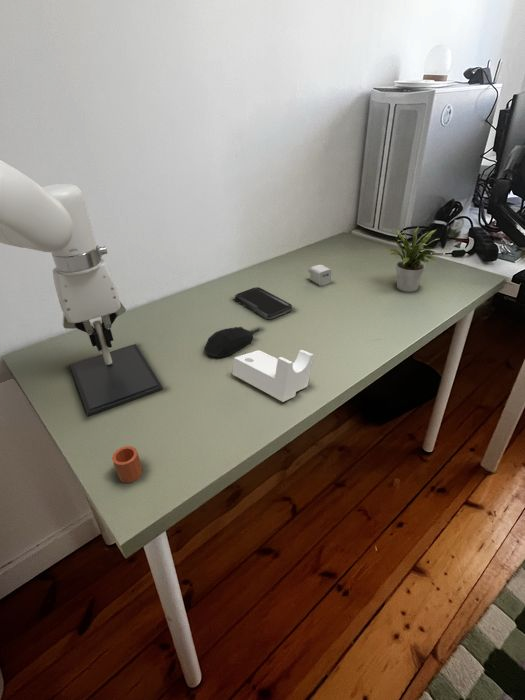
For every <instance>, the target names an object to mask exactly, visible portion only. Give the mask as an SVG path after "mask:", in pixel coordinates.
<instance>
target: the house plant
mask: <svg viewBox="0 0 525 700" xmlns="http://www.w3.org/2000/svg"><path fill="white" fill-rule="evenodd" d="M419 227H420V225H418V226H417V227H416V228H415V229H414V230H413V235H412V242H411V243H410V242H409V241H408V236H407V233H406V232H405V231H404V230H403V229H401V228H400V230H401V231H402V232H403V234H404V235H403V234H402V233H401V231H399V230H398V229H396V230H395V233H396V234H397V235H398V237H399V239H398V238H397V237H396V235H395V234H393V233H392V232H390V231H387V230H384V232H385V233H389V234H391V235H393V236H394V237H395V238H396V239H397V242H396V244H397V245H398V246H399V249H400V250H401V252H400V251H398V249H394V248H391V249H389V250H388V252H387V253H391V255H396V258H397V259H398V256H399V258H400V259H401V260H399V261H398V262H396V265H395V266H396V269H395V270H396V287H397V289H398V290H400V291H402V292H407V293H410V292H415V291H418V288H419V286H420V284H421V280H422V278H423V274H424V271H425V269H426V264H427V265H429V259H430V260H431V261H433V263H434V264H436V259H435V258H434V256H431V255H430V254H436V255H438V253H437V251H435V250H431V247H425V246H428V245H430V244H431V243H433V242H434V241H437V240H439V238H435V239H433V240H431V241H430V242H428V241H429V240H430V239H431V238H432V235H433V234H434V233H435V232H436V231H437V229H438V228H436V229H434V230H433V229H432V230H431V231H427V232H426V233H424V234H422V235H421V236H420V237H419V238H418V230H419ZM419 241H420V242H419ZM401 242H402V244H401ZM418 242H419V243H418ZM427 242H428V243H427ZM426 243H427V244H426ZM394 244H395V242H393V245H394ZM396 258H395V259H396ZM425 263H426V264H425Z"/></svg>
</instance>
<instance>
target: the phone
mask: <svg viewBox="0 0 525 700" xmlns="http://www.w3.org/2000/svg"><path fill="white" fill-rule="evenodd" d="M234 299H235V301H236V302H238V303H239V304H241V305H243V306H245V308H248V309H249V310H250V311H253V312H254V313H256V314H257V315H259V316H261V317H262V318H264V319H266V320H274V319H276V318H278V317H281V316H282V315H285V314H288V313H290V312H292V310H293V305H292V304H291V303H289V302H287V301H286V300H283V299H282V298H280V297H278V296H276V295H275V294H272V293H270V292H269V291H267V290H265V289H263V288H261V287H259V286H256V287H251V288H250V289H247V290H244V291H241V292H239V293H236V294H235V295H234Z"/></svg>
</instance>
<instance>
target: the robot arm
mask: <svg viewBox="0 0 525 700" xmlns="http://www.w3.org/2000/svg"><path fill="white" fill-rule="evenodd" d="M0 244H4V245H7V246H12V247H18V248H20V249H21V248H22V249H28V250H34V251H37V252H38V251H39V252H41V253H42V252H43V253H51V256H52V259H53V263H54V265H55V267H54V268H53V269H52V277H53V282H54V287H55V292H56V295H57V298H58V302H59V305H60V308H61V311H62V323H61V324H62V326H63V328H64V329H65V330H66V329H69V330H71V329H73V330H74V329H75V330H76V329H77V330H79V331H81V332H84V333H86V334H87V335H88V337H89V341H90V343H91V347H95V348H96V349H97V351H98V352H102V351H101V350H102V348H101V345H100V341H99V338H98V335H97V332H96V331H95V328H94V325H92V323H91V321H90V320H93V319H96V318H100V319H101V325H102V330H103V333H104V336H105V340H106V343H107V346H108V349H109V348H113V345H112V342H113V341H114V337H113V333H112V330H111V329H112V326H113V324H114V323H115V321H116V319H117V318H118V317H120V316H121V315H123V314H124V313H126V311H127V309H126V308H125V305H124V304H123V303H122V302H121V300H120V296H119V294H118V293H119V292H118V291H117V288H116V284H115V282H114V279H113V276H112V274H111V272H110V269H109V266H108V265H107V263H106V261H105V259H104V258H103V256H104V255H107V254H108V249H107V247H106V246H99V245H97V241H96V237H95V234H94V230H93V226H92V224H91V219H90V215H89V212H88V209H87V204H86V201H85V198H84V195H83V191H82V190H81V189H80V187H79V186H77V185H76V184H71V183H56V184H49V185H45V186H41V185H39V184H38V183H37V182H36V181H34V180H33V179H32V178H30V177H29V176H27V175H26V174H25V173H23V172H21V171H19V169H16V168H15V167H13V166H12V165H10V164H8V163H6V162H5V161H4V160H1V159H0Z"/></svg>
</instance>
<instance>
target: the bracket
mask: <svg viewBox="0 0 525 700" xmlns="http://www.w3.org/2000/svg"><path fill="white" fill-rule="evenodd" d="M313 360H314V354H313V353H311V352H309V351H306V350H304V349H300V350H299V351H298V354H297V357H296V359H295V360H294V361H291V360H289V359H287V358H285V357H283V356H279V357H278V358H276V357H274V356H272V355H270V354H268V353H266V352H264V351H262V350H260V349H258V350H253V351H250V352H248V353H245V354H241V355H238V356H235V357H233V364H232V372H231V374H232V375H233V376H235V377H236V378H238V379H240V380H241V381H243V382H245V383H247V384H249V385H251V386H252V387H255V388H256V389H259V390H260V391H262V392H264V393H265V394H268V395H269V396H271V397H273V398H275V399H277V400H278V401H280V402H282V403H284V402H286V401H289V400H290V399H293V398H294V397H296V393H297V392H299V391H300V390H303V389H305V388H308V387H309V381H310V375H311V372H312V371H311V370H312V367H313V366H312V365H313Z"/></svg>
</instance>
